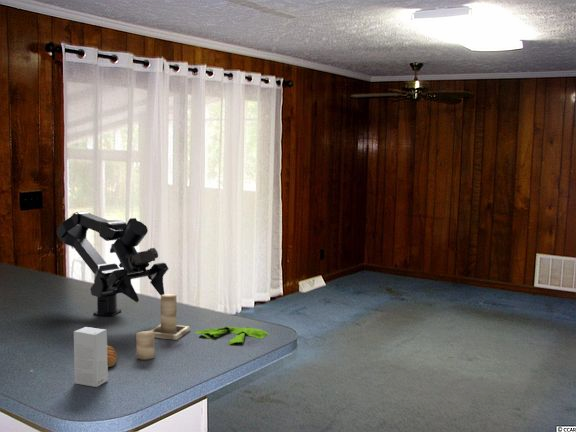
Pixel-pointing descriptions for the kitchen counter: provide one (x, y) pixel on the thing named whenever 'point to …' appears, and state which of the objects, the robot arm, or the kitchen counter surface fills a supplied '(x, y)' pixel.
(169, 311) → the tall beech pin
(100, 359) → the skincare box
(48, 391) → the kitchen counter surface
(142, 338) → the short beech pin
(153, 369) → the kitchen counter surface
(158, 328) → the birch collar
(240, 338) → the cloth
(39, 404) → the kitchen counter surface
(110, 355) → the pastry
